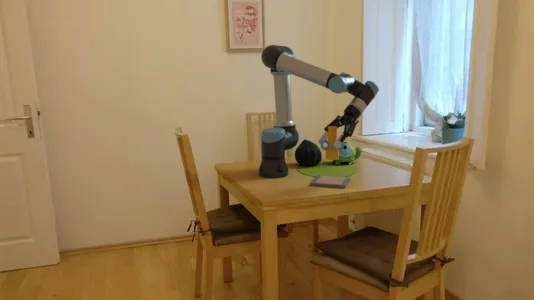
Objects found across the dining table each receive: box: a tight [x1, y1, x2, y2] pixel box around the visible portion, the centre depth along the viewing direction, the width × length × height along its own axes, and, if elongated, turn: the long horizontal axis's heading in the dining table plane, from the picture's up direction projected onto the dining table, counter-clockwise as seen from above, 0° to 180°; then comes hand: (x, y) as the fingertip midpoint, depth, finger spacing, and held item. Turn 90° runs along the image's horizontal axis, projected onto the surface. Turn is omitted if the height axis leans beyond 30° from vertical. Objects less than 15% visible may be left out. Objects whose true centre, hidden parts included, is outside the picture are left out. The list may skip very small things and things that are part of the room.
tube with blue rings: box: [320, 126, 345, 161], centre depth 194 cm, size 12×10×15 cm
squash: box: [294, 139, 323, 167], centre depth 237 cm, size 14×15×15 cm
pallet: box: [309, 175, 352, 189], centre depth 198 cm, size 16×16×1 cm
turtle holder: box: [332, 141, 363, 165], centre depth 242 cm, size 12×18×12 cm
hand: (327, 145), depth 193 cm, fingers closed on tube with blue rings, 11 cm apart
